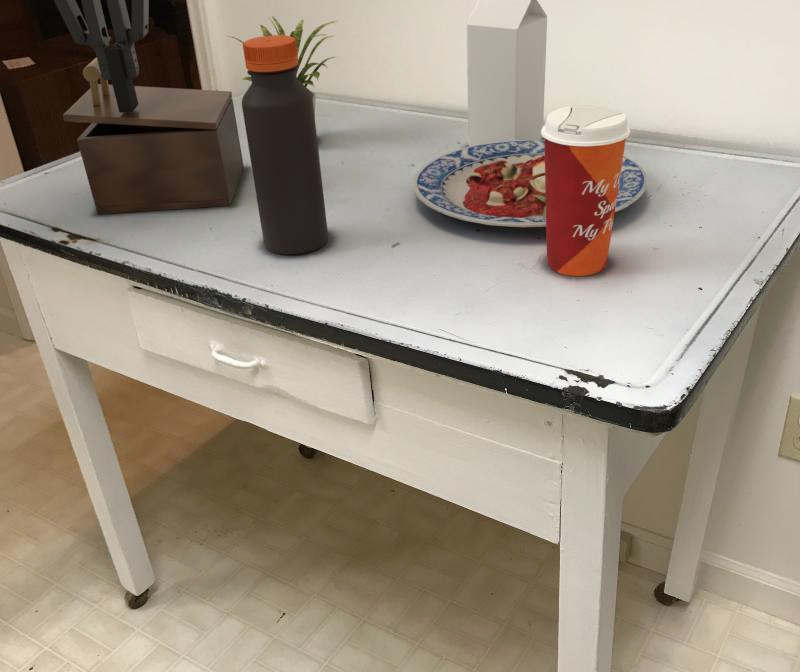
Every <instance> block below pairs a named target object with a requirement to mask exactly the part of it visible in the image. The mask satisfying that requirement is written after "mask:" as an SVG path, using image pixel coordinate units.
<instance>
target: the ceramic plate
mask: <svg viewBox="0 0 800 672" xmlns="http://www.w3.org/2000/svg"><path fill="white" fill-rule="evenodd" d="M647 185H648V177H647V174H646V171H644V169H643V168H642V167H641V166H640V165H639V164H638V163H637V162H636V161H634V160H632V159H630V158H629V157H627V156H626V155H623V161H622V167H621V174H620V181H619V187H618V194H617V201H616V207H615V213H617V212H619V211H622V210H624V209H626V208H628V207H630V206H631V205H632V204H633V203H634V202H636V201H638V200H639V199H640V198H641V197H642V196H643V195H644V193H645V191H646V190H647ZM412 189H413V192H414V195H415V196H416V198H418V200H420V202H421V203H423V204H424V205H425V206H427V207H428V208H430V209H431V210H434V211H436V212H438V213H440V214H442V215H445V216H448V217H451V218H454V219H458V220H460V221H465V222H471V223H476V224H480V225H481V224H482V225H487V226H498V227H513V228H514V227H515V228H544V227H545V228H546V197H545V140H544V139H540V140H510V141H499V142H492V143H484V144H479V145H474V146H466V147H462V148H458V149H456V150H453V151H450V152H447V153H444V154H441V155H439V156H437V157H436V158H433V159H431V160H430V161H428V162H427V163H425V164H424V165H422V166H421V168H420V169H419V170H418V171H417V172H416V173H415V175H414V177H413V179H412Z"/></svg>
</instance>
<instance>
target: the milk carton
mask: <svg viewBox="0 0 800 672" xmlns="http://www.w3.org/2000/svg"><path fill="white" fill-rule="evenodd" d="M547 36H548V15H547V14H546V12H545V10H544V9H543V7H542V6H541V4H540V2H539V1H538V0H477V2H476V3H475V6H474V8H473V10H472V11H471V14H470V16H469V18H468V20H467V22H466V64H467V65H466V67H467V69H466V70H467V71H466V73H467V145H468V147H470V146H474V145H479V144H484V143H492V142H499V141H510V140H543V138H544V137H543V136H542V135H541V129H542V127H543V126H544V116H545V115H544V114H545V89H546V88H545V87H546V84H545V83H546V65H547V64H546V61H547Z"/></svg>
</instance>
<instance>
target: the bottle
mask: <svg viewBox="0 0 800 672" xmlns="http://www.w3.org/2000/svg"><path fill="white" fill-rule="evenodd" d="M285 35H286V34H285ZM285 35H280V34H279V35H278V34H272V35H271V36H257V37H252V38H250V39H247V40H245V41H243V42H244V43H242V50H243V55H244V63H245V64H246V65H245V64H244V65H245V68H246V70H247V74H248V76H250V77H251V80H252V81H251V84H250V85H249V87H248V89H247V90H246V91H245V93H244V94H243V96H242V98H241V109H242V115H243V120H244V127H245V133H246V140H247V146H248V152H249V158H250V165H251V171H252V177H253V184H254V191H255V197H256V202H257V209H258V215H259V220H260V228H261V233H262V239H263V245H264V246H265V247H266V249H268V250H269V251H270V252H273V253H275V254H280V255H290V256H291V255H292V256H293V255H303V254H306V253H311V252H313V251H315V250H318V249H319V248H321V247H322V246H324V245H325V244H326V243H327V241H328V239H329V231H328V222H327V214H326V213H327V212H326V206H325V196H324V188H323V177H322V171H321V169H322V168H321V161H320V151H319V143H318V134H317V125H316V115H315V116H314V107H313V98H312V93H311V91H312V90H310V89H309V88H308V86H307V87H306V86H304V85H305V84H302V83H301V82H300V81H299V80H298V79H297V77H298V75H296V71H297V70H298V71H299V69H300V67H299V68H298V59H299V52H298V53H297V45H296V39H295V38H293V37H291V36H290V35H286V36H285Z"/></svg>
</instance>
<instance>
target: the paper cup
mask: <svg viewBox="0 0 800 672" xmlns="http://www.w3.org/2000/svg"><path fill="white" fill-rule="evenodd" d="M541 135H542V136H543V138H544V139H543V140H545V197H546V227H545V239H546V240H545V241H546V242H545V243H546V259H547V266H548V268H550V270H552V271H553V272H556V273H558V274H560V275H565V276H569V277H586V276H592V275H595V274H598V273H600V272H601V271H603V270H604V269H605V268H606V265H607V262H608V258H609V251H610V245H611V239H612V234H613V233H612V232H613V226H614V218H615V213H616V212H615V207H616V201H617V194H618V187H619V181H620V174H621V167H622V161H623V156H624V153H625V147H626V140H627V138H628V137H629V136H630V135H631V129H630V126H629V125H628V120H627V116H626V114H625V113H624V112H622V111H621V110H618V109H616V108H614V107H609V106H603V105H589V104H587V105H572V106H566V107H565V106H564V107H561V108H558V109H554V110H552V111H551V112H549V113H548V114H547V116H546V119H545V123H544V124H543V127H542V129H541Z"/></svg>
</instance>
